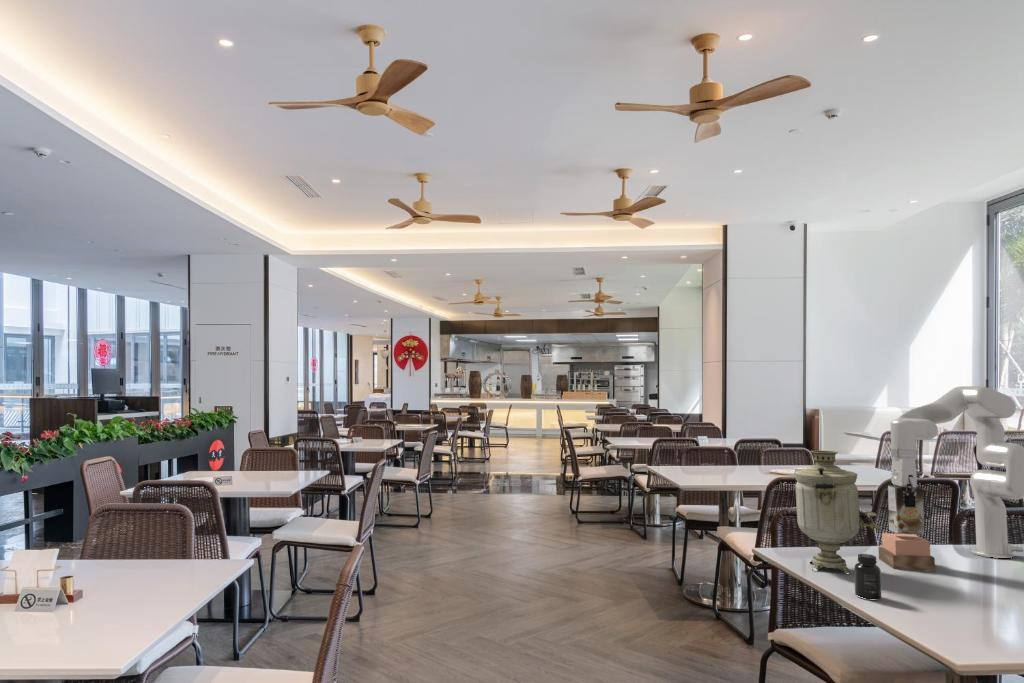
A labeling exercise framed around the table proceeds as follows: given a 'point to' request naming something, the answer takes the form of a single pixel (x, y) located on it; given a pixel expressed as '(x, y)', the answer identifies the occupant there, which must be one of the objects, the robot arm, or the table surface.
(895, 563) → the tower base block
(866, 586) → the supplement bottle
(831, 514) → the samovar
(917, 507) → the coffee box
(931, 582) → the table surface
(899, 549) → the tower top block
